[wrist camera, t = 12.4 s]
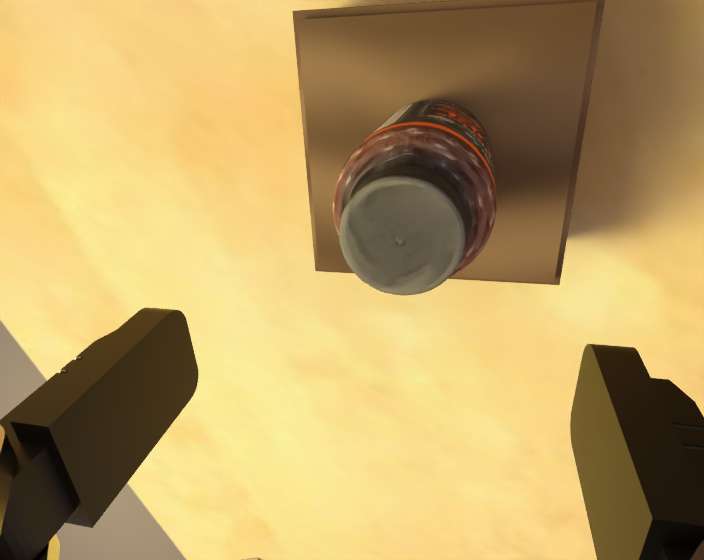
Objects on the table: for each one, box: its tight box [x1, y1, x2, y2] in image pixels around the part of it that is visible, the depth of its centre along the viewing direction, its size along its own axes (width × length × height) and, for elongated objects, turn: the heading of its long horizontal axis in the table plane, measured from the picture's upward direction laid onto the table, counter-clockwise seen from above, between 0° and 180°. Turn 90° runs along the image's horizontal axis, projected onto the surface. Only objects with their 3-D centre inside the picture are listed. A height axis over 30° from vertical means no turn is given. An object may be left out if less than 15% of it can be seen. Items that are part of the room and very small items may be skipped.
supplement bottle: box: [332, 99, 497, 295], centre depth 20 cm, size 6×6×11 cm
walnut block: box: [293, 0, 605, 285], centre depth 28 cm, size 14×14×7 cm
